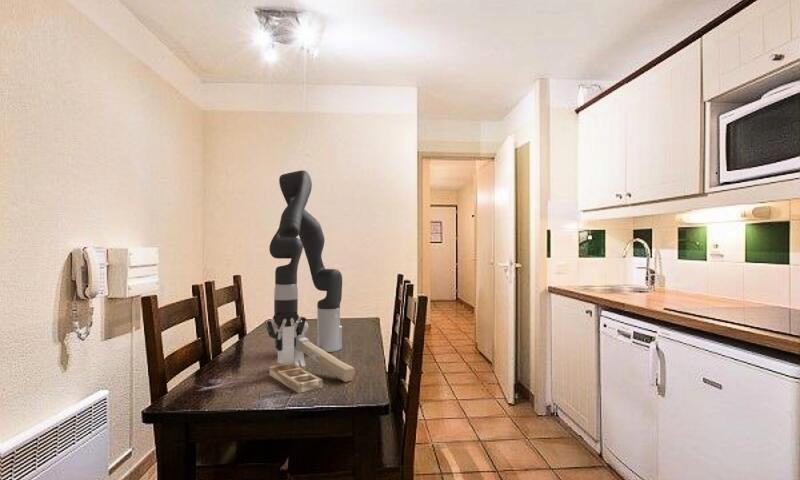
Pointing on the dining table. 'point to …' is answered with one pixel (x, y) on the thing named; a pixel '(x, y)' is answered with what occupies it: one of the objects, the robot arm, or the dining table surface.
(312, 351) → the hammer
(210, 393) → the dining table surface
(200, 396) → the dining table surface
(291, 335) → the steel peg
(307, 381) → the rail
